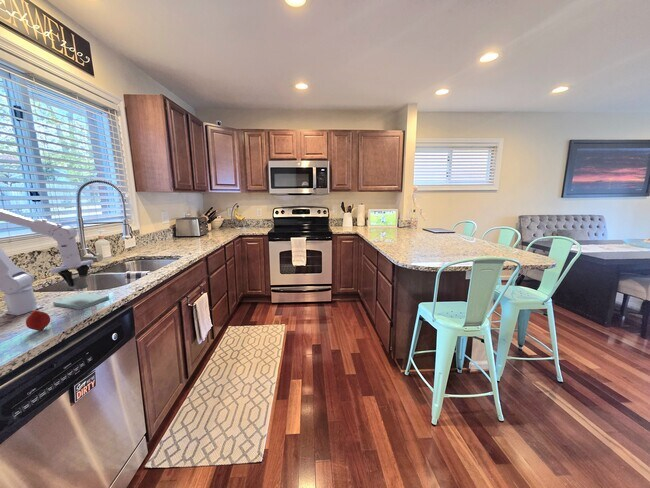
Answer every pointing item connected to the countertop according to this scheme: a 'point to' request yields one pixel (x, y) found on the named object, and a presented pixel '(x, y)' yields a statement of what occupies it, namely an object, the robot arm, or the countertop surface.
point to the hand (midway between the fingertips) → (77, 284)
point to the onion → (37, 320)
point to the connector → (78, 282)
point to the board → (81, 300)
